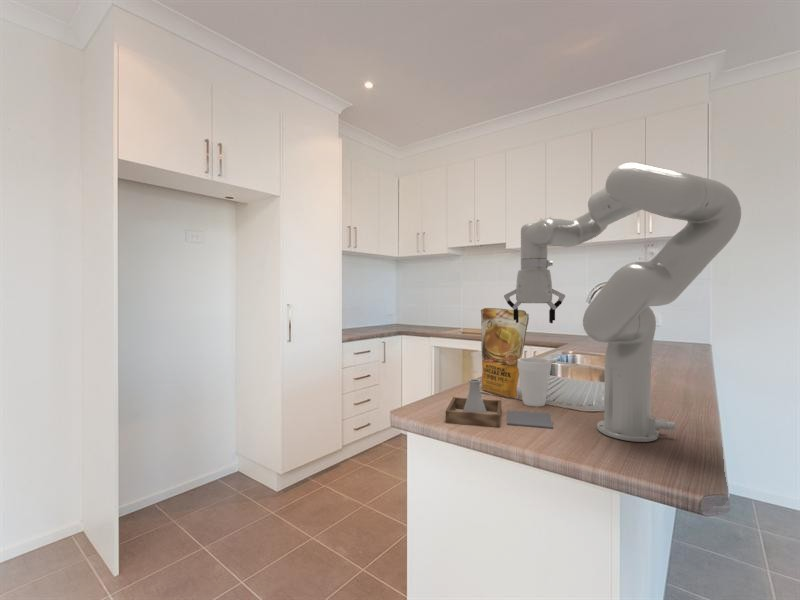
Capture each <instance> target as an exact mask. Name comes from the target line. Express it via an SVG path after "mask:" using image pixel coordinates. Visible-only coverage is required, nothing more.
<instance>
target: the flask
mask: <svg viewBox="0 0 800 600" xmlns="http://www.w3.org/2000/svg"><path fill="white" fill-rule="evenodd" d="M468 383H469V389H468V394H467V397H466V398H467V400H466V403H465V406H464V409H462V411H464V412H477V413H488V411H486V408H485V405H484V403H483V400H482V399H483V397H482V393H481V389H480V388H481V385H480V383H482V379H479V378H469V379H468Z"/></svg>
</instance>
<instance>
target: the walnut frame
mask: <svg viewBox="0 0 800 600" xmlns="http://www.w3.org/2000/svg"><path fill="white" fill-rule="evenodd" d="M466 400H467V397H457V396H455V397H454V396H453V397H452V399H451V400H450V402H449V404H448V406H447V408H446V410H445V423H446V424H449V423H450V424H459V425H470V426H480V427H481V426H483V427H494V428H501V418H502V399H501V400H500V399H488V398H487V399H485V398H482V400H483V403H484V405H485V408H486V411H487V413H477V412H464V411H463V409H464V406H465V403H466ZM456 409H460V410H456ZM488 412H496V413H488Z"/></svg>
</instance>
